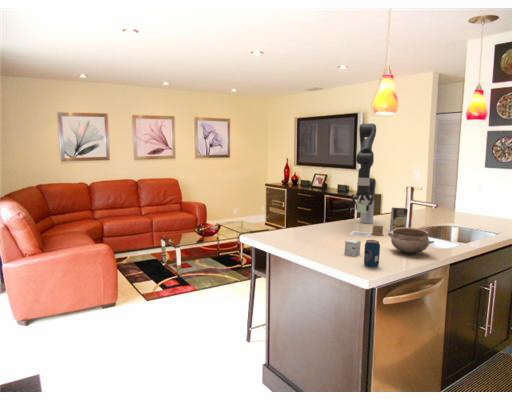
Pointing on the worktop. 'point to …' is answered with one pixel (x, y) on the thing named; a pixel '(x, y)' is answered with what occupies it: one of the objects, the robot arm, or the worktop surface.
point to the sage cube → (361, 207)
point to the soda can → (371, 253)
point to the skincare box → (352, 247)
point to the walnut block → (377, 230)
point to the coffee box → (398, 218)
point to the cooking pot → (410, 240)
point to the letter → (360, 233)
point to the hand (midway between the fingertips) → (362, 210)
